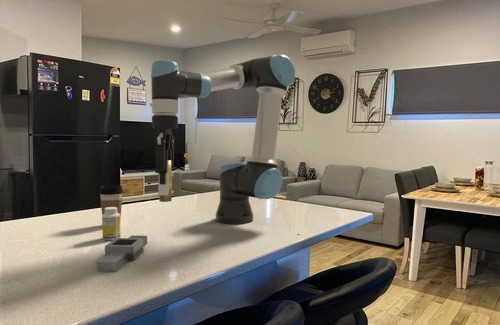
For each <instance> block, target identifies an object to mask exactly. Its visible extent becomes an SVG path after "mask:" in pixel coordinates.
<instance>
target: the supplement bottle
mask: <svg viewBox="0 0 500 325" xmlns="http://www.w3.org/2000/svg"><path fill="white" fill-rule="evenodd" d="M104 213H105V214H103V215H102V214H101V215H102V216H101V221H102V222H101V225H102V230H101V231H102V239H103V240H105V241H113V240H114V239H116V238H121V220H120V214H119V213H117V207H107V208H105V209H104Z"/></svg>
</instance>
